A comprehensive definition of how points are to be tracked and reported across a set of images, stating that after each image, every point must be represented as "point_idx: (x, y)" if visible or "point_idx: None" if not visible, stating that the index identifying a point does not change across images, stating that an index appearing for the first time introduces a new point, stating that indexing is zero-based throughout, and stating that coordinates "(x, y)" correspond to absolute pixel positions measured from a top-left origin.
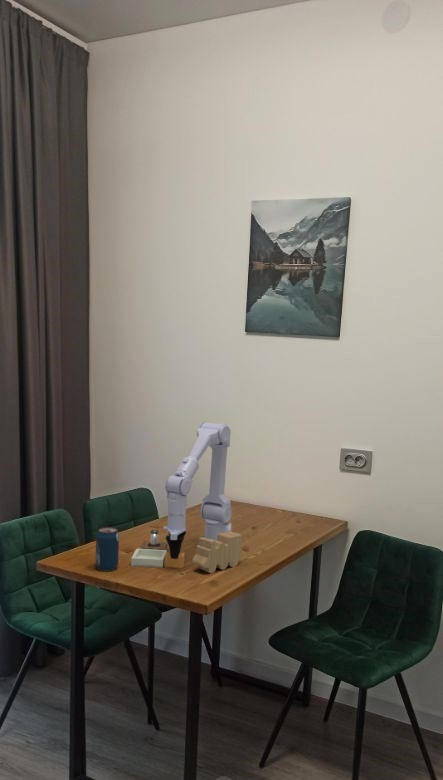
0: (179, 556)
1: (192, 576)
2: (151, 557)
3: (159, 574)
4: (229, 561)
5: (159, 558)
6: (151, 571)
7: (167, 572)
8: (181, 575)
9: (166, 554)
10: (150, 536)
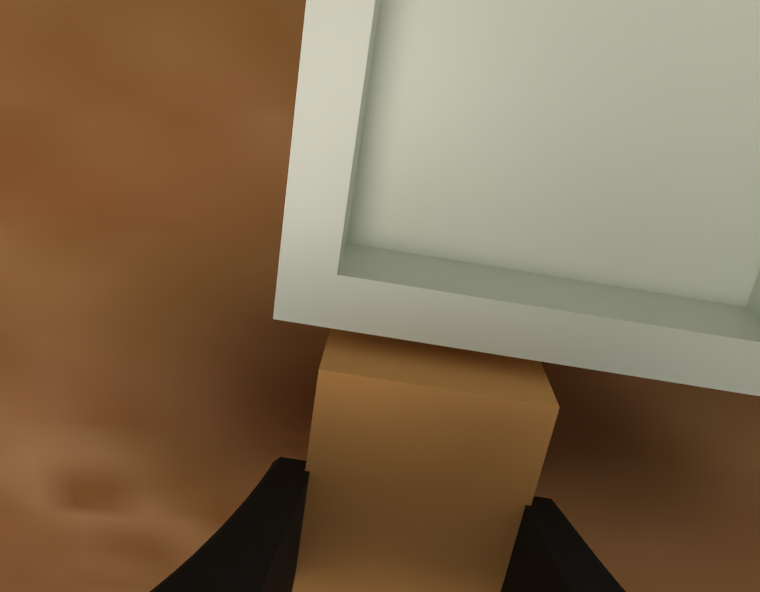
0: (303, 589)
1: (19, 584)
2: (738, 105)
3: (7, 216)
4: None
5: (659, 243)
6: (117, 97)
7: (109, 327)
8: (28, 481)
9: (412, 404)
10: None
